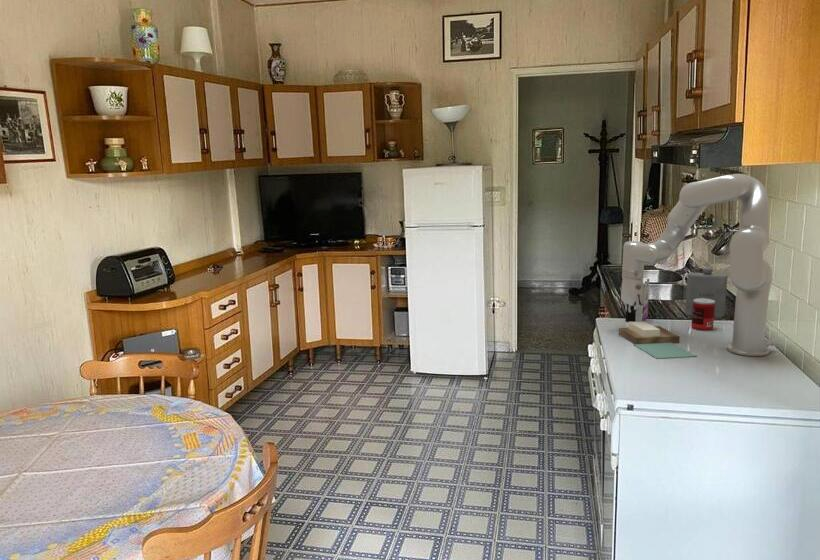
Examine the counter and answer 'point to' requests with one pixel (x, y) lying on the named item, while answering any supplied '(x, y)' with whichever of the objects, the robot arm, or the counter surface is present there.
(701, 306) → the canned food
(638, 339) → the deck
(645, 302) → the candy bar box
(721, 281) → the grey upright rectangular block
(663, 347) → the mat
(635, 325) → the tile
